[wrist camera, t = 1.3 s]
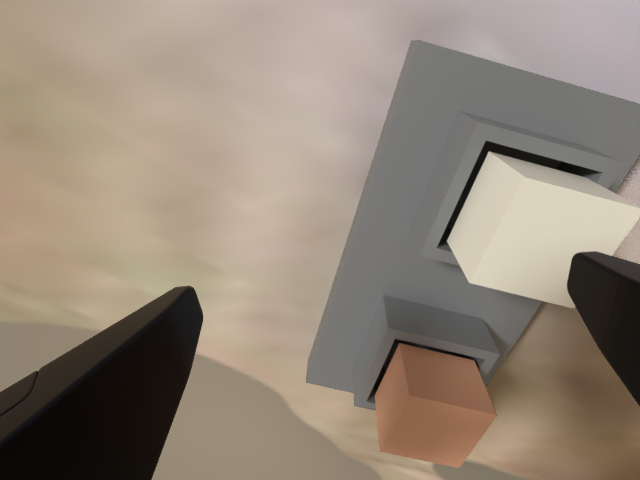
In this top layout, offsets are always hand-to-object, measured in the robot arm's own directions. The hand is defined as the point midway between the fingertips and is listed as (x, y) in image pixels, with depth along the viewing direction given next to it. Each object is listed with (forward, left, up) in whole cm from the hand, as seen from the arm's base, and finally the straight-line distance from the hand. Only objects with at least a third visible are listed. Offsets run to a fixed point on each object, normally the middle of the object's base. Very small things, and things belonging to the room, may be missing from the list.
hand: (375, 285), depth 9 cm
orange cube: (-7, +11, -8) cm, 15 cm away
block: (-7, +5, -13) cm, 16 cm away
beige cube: (-7, 0, -8) cm, 11 cm away
